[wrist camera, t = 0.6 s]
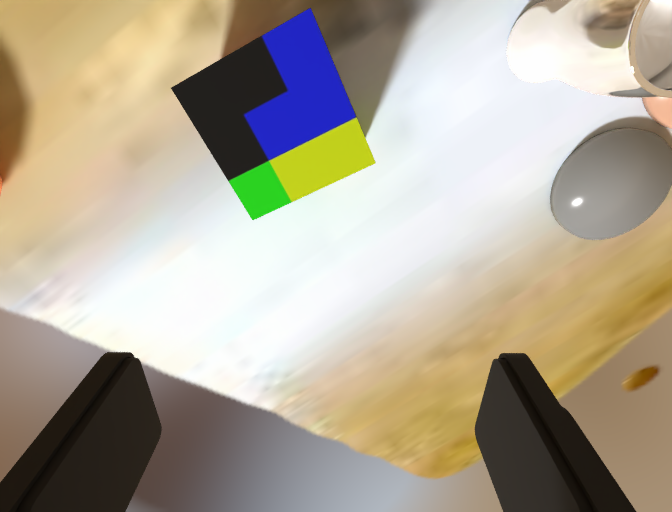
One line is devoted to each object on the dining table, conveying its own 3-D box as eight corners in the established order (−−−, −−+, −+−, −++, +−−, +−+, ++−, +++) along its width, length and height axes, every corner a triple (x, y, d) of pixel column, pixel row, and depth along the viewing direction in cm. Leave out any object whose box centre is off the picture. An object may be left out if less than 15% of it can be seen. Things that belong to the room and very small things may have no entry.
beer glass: (494, 14, 30) (623, -30, 16) (582, -23, 29) (798, -103, 15) (507, 101, 33) (625, 122, 19) (587, 70, 32) (772, 70, 18)
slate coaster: (605, 106, 33) (613, 107, 32) (691, 159, 35) (701, 161, 34) (527, 210, 38) (532, 214, 37) (608, 251, 40) (614, 255, 39)
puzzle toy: (317, 25, 30) (310, 7, 21) (365, 138, 34) (375, 163, 25) (216, 82, 32) (171, 88, 23) (272, 183, 36) (252, 220, 27)
